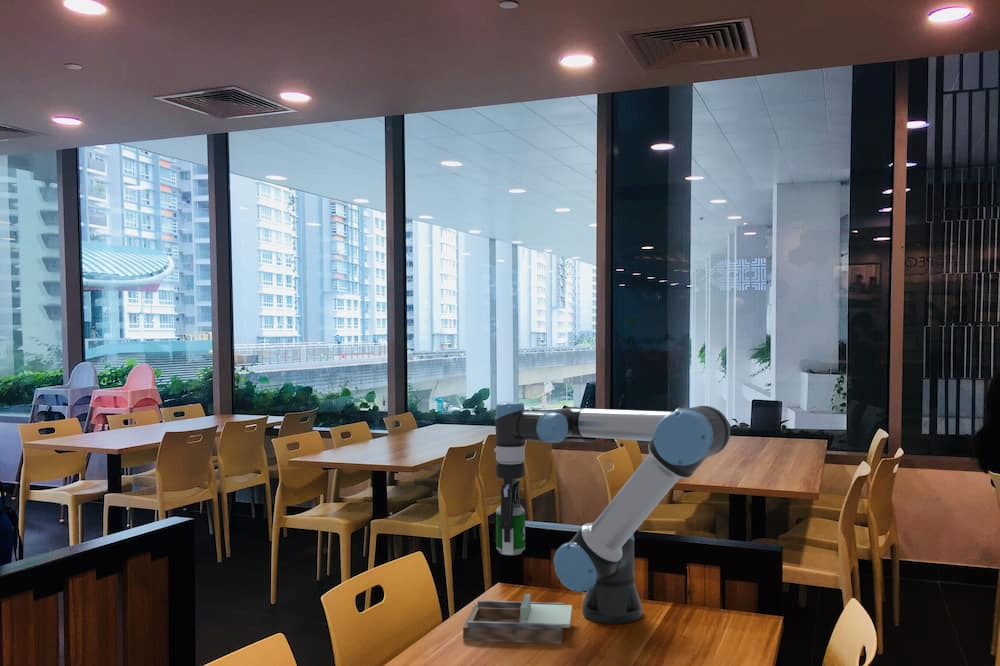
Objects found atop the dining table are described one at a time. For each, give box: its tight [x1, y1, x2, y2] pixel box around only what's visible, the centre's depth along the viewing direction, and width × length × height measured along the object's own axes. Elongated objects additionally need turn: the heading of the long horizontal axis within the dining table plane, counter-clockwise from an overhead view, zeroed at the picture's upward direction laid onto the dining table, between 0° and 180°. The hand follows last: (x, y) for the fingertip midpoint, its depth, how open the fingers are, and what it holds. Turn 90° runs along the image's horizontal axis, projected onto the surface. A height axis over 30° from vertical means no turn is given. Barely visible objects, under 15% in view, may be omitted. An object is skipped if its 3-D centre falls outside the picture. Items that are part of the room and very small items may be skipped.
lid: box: [520, 593, 573, 629], centre depth 187 cm, size 12×13×4 cm
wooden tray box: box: [462, 599, 565, 645], centre depth 188 cm, size 23×16×4 cm
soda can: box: [495, 504, 526, 556], centre depth 200 cm, size 8×8×12 cm
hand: (510, 549), depth 200 cm, fingers closed on soda can, 7 cm apart
